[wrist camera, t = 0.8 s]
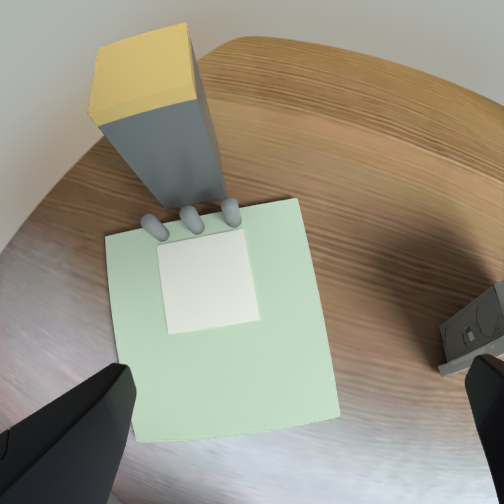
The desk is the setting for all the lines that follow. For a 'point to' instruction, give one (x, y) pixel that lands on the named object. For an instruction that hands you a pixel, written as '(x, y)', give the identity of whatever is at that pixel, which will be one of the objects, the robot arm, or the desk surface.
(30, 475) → the robot arm
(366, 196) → the desk surface
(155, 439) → the board
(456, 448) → the desk surface
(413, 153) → the desk surface
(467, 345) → the electrical switch
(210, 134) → the plug block
